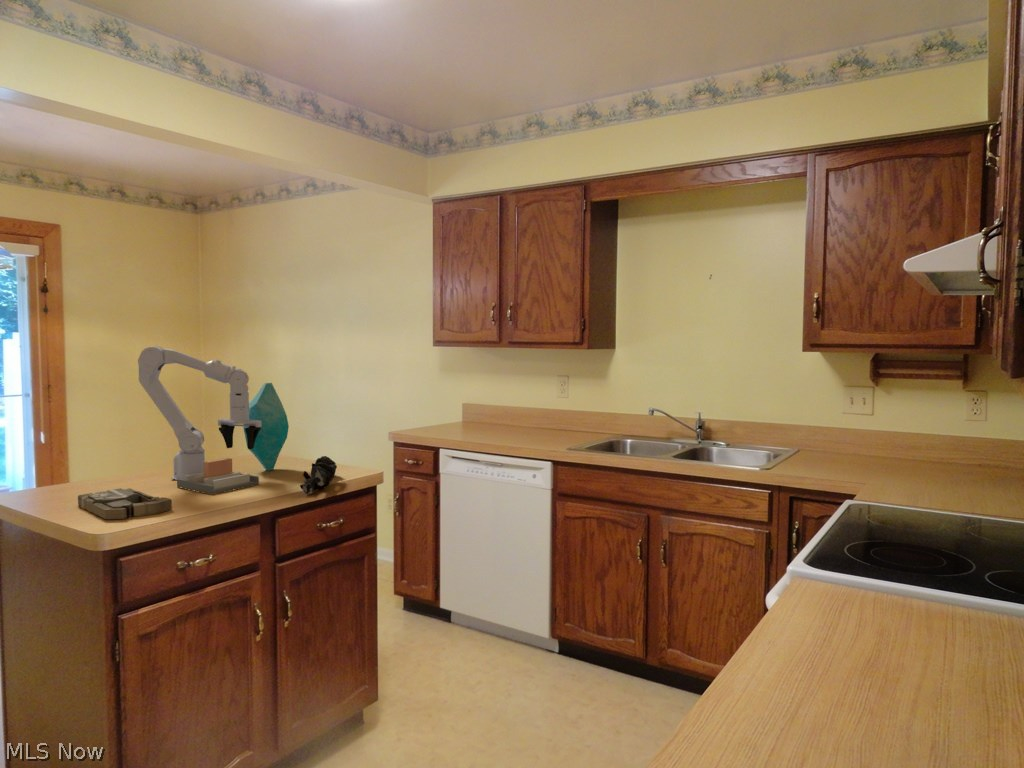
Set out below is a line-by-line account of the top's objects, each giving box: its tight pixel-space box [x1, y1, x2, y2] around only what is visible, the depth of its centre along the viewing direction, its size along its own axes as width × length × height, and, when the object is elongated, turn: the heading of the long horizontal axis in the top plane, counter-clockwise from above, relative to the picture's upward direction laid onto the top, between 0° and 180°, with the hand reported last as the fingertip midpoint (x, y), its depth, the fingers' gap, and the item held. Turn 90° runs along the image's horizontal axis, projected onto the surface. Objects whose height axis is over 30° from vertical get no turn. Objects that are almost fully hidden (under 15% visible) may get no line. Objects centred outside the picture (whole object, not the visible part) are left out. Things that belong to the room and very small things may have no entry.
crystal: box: [242, 382, 289, 472], centre depth 222 cm, size 12×14×30 cm
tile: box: [203, 457, 233, 479], centre depth 198 cm, size 2×8×7 cm, turn 148°
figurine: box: [299, 455, 338, 495], centre depth 202 cm, size 8×30×8 cm, turn 4°
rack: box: [176, 471, 260, 495], centre depth 199 cm, size 17×16×4 cm
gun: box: [77, 488, 173, 520], centre depth 172 cm, size 4×24×15 cm
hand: (240, 448), depth 211 cm, fingers open, 7 cm apart
